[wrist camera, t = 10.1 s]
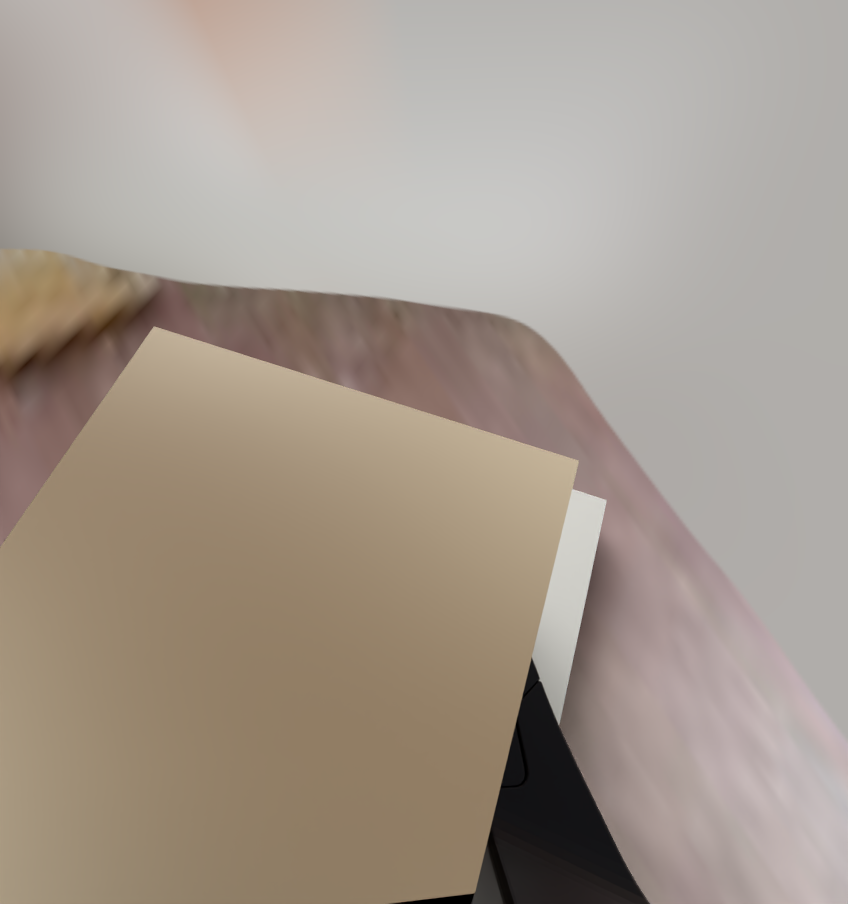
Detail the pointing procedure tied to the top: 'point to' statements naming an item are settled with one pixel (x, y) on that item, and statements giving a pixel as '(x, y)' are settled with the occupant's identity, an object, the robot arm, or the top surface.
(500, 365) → the top surface
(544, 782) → the robot arm
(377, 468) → the keyhole post
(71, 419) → the top surface
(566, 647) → the keyhole plate
